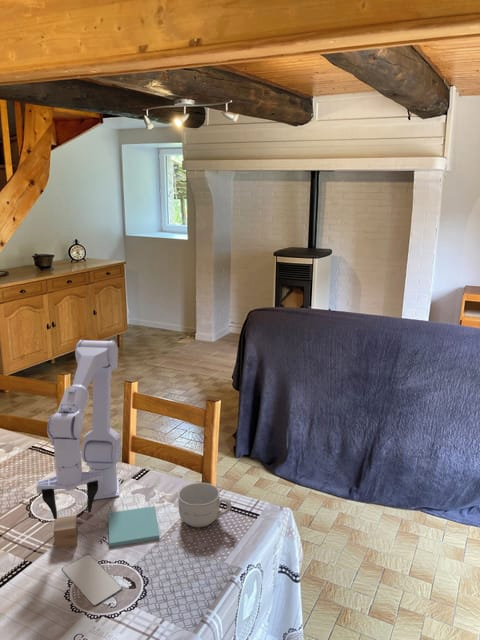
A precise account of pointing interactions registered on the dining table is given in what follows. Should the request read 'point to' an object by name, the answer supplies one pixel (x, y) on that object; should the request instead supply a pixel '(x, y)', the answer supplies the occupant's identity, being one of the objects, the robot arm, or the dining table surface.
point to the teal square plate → (133, 526)
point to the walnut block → (65, 531)
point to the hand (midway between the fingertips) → (72, 513)
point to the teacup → (201, 504)
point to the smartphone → (92, 580)
